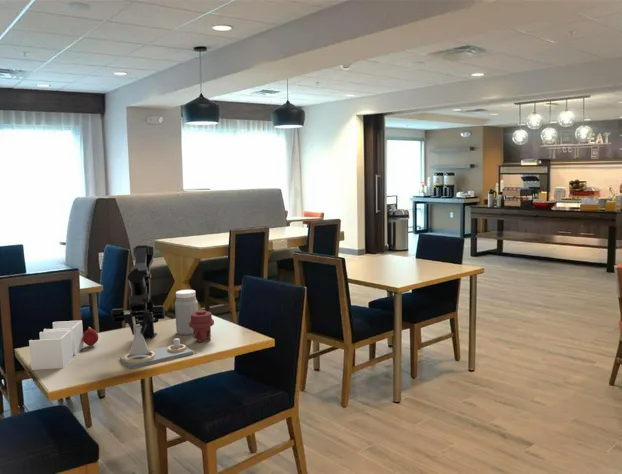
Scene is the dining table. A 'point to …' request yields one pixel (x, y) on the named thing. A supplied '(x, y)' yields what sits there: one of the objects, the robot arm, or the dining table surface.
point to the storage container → (56, 345)
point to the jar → (185, 310)
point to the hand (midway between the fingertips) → (137, 334)
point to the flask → (139, 342)
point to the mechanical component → (201, 325)
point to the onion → (90, 337)
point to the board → (157, 355)
